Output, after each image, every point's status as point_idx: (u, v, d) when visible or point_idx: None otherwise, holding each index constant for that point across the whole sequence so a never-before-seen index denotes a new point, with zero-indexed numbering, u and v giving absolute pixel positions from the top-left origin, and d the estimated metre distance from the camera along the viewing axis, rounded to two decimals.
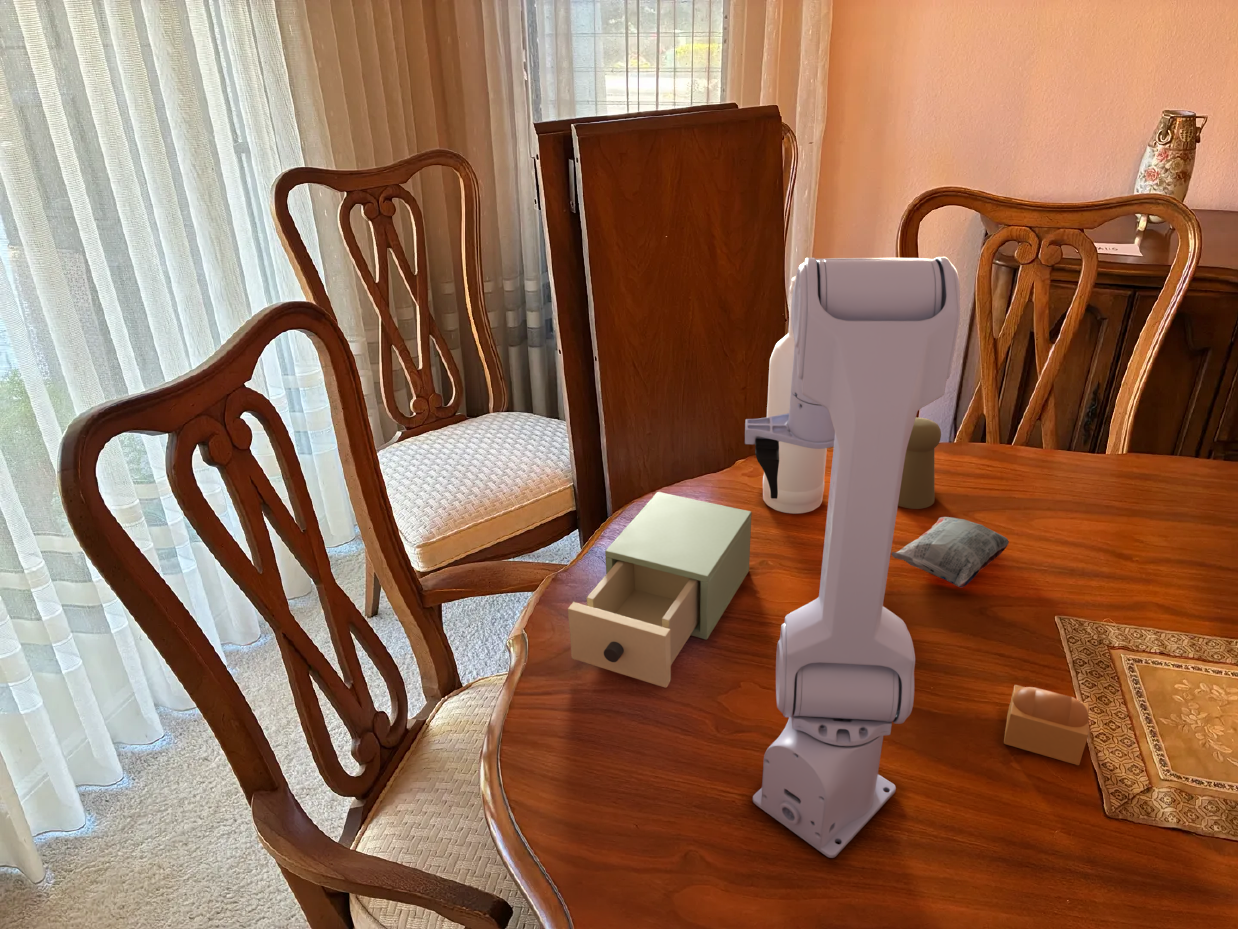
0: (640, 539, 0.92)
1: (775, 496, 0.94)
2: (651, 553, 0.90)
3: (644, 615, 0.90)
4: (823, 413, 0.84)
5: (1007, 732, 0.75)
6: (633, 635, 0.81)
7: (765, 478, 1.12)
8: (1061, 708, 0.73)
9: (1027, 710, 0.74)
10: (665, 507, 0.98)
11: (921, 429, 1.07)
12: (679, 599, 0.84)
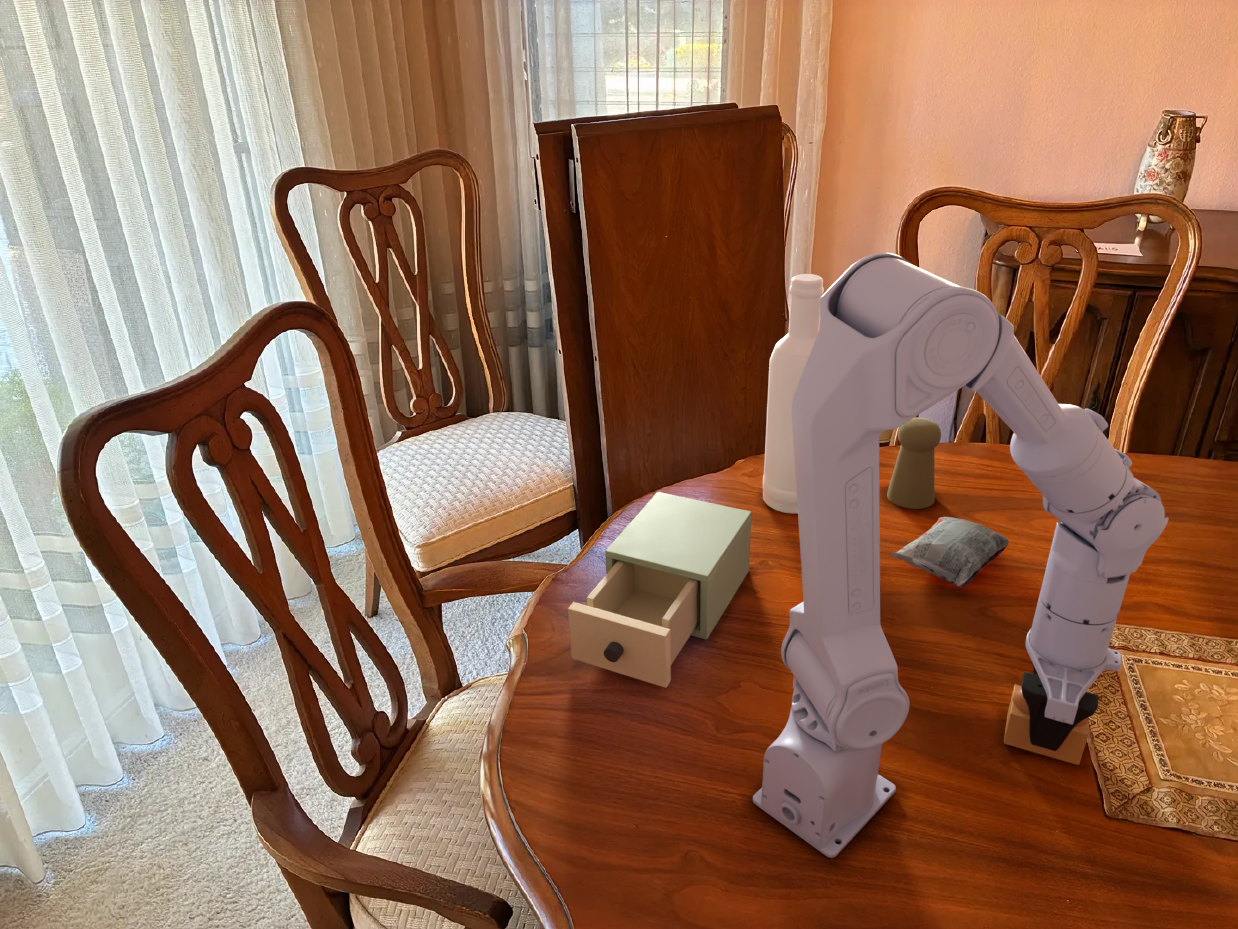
0: (640, 539, 0.92)
1: None
2: (651, 553, 0.90)
3: (644, 615, 0.90)
4: (1037, 605, 0.70)
5: (1007, 732, 0.75)
6: (633, 635, 0.81)
7: (765, 478, 1.12)
8: None
9: (1027, 710, 0.74)
10: (665, 507, 0.98)
11: (921, 429, 1.07)
12: (679, 599, 0.84)
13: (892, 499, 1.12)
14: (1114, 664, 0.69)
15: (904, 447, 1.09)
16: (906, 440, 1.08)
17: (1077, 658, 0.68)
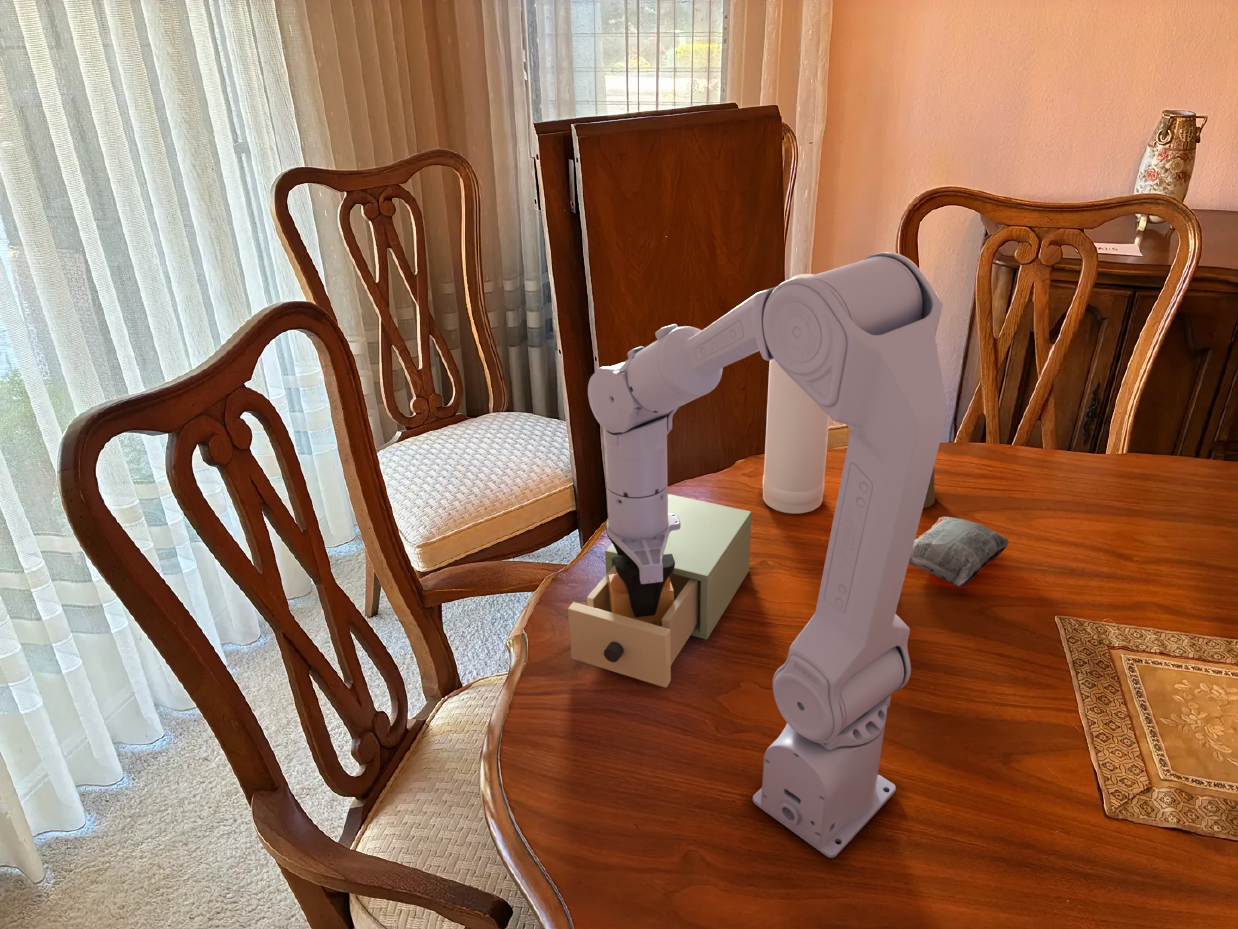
0: None
1: None
2: None
3: None
4: (607, 496, 0.80)
5: None
6: (633, 635, 0.81)
7: (765, 478, 1.12)
8: None
9: (624, 590, 0.84)
10: None
11: None
12: (679, 599, 0.84)
13: None
14: (675, 524, 0.81)
15: None
16: None
17: (649, 527, 0.79)
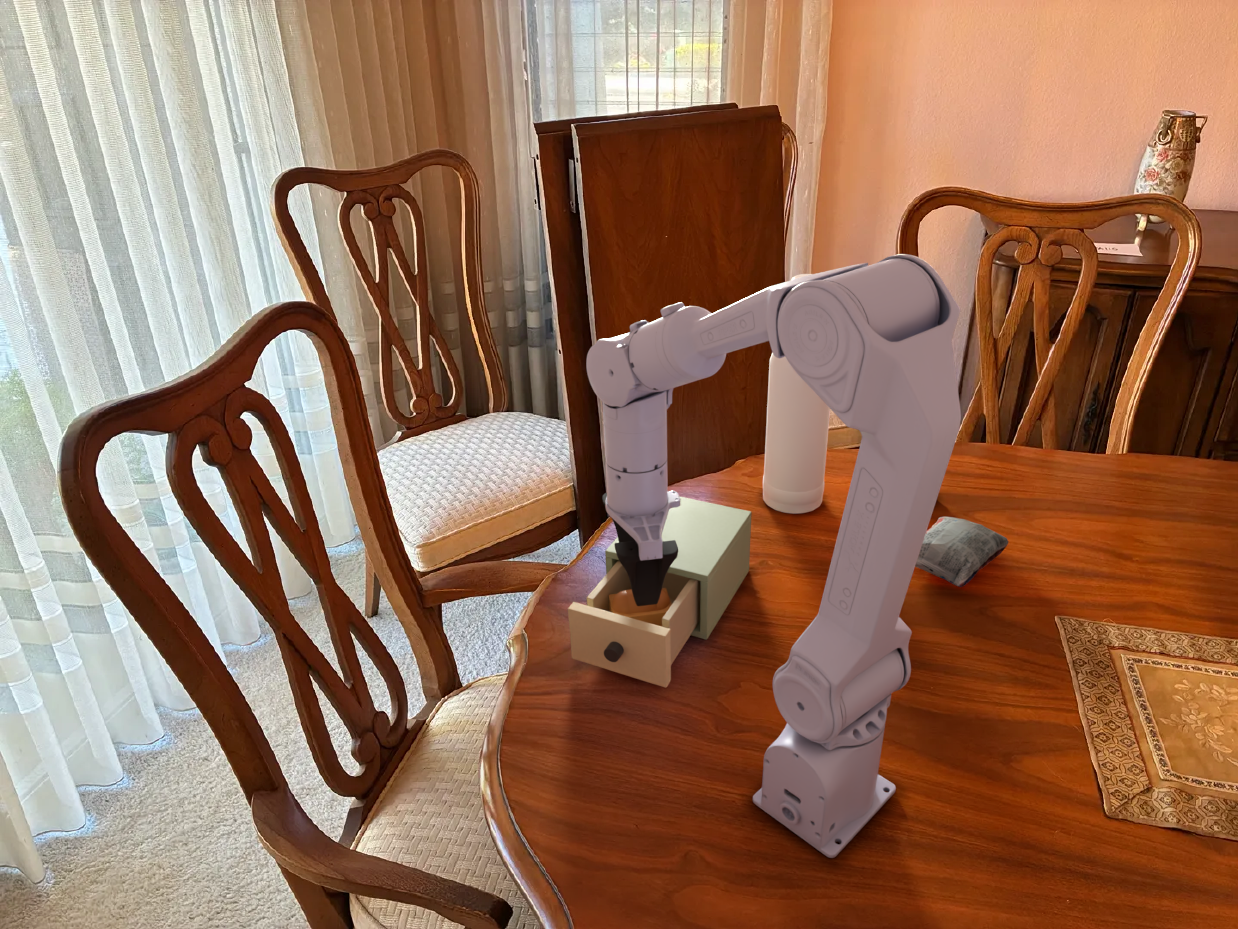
0: None
1: None
2: None
3: None
4: (606, 472, 0.79)
5: None
6: (633, 635, 0.81)
7: (765, 478, 1.12)
8: None
9: (625, 610, 0.85)
10: None
11: None
12: (679, 599, 0.84)
13: None
14: (675, 501, 0.80)
15: None
16: None
17: (649, 504, 0.78)
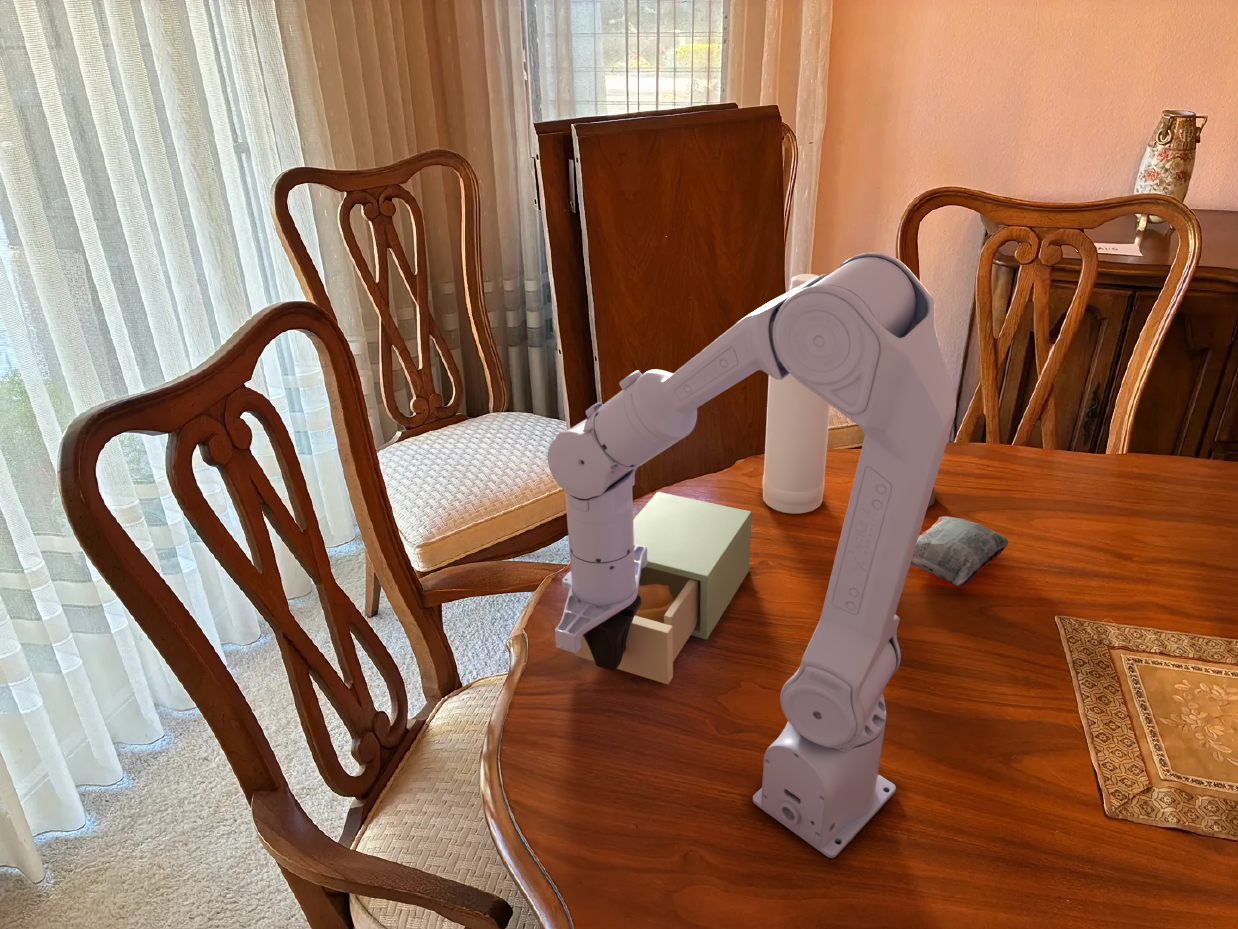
0: (640, 539, 0.92)
1: (617, 665, 0.81)
2: (651, 553, 0.90)
3: None
4: (632, 559, 0.75)
5: None
6: (635, 632, 0.81)
7: (765, 478, 1.12)
8: (651, 595, 0.85)
9: None
10: (665, 507, 0.98)
11: None
12: (681, 596, 0.85)
13: None
14: None
15: None
16: None
17: None
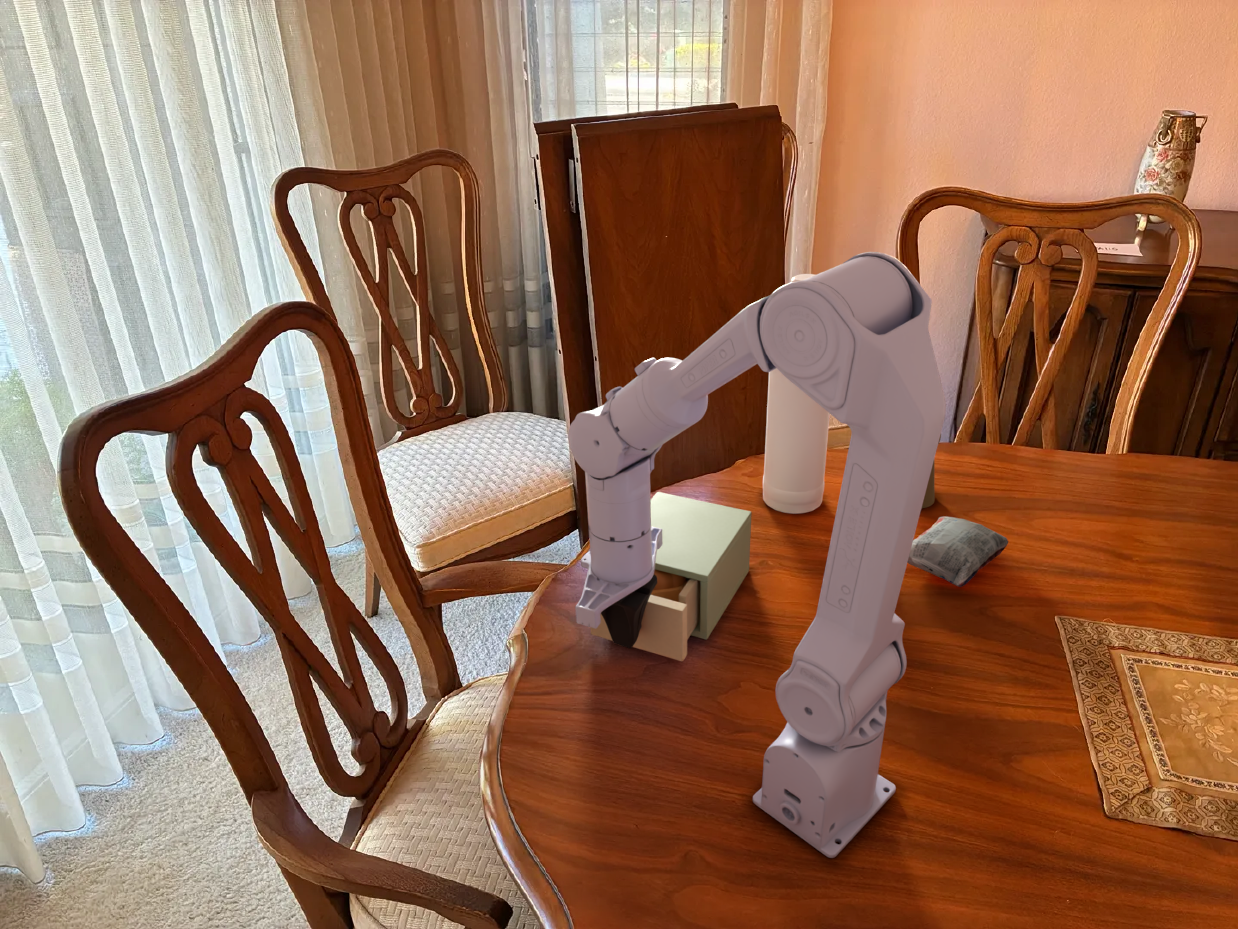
0: None
1: (634, 642, 0.84)
2: None
3: None
4: (649, 539, 0.78)
5: None
6: (651, 610, 0.84)
7: (765, 478, 1.12)
8: (665, 576, 0.88)
9: None
10: (665, 507, 0.98)
11: None
12: None
13: None
14: None
15: None
16: None
17: None
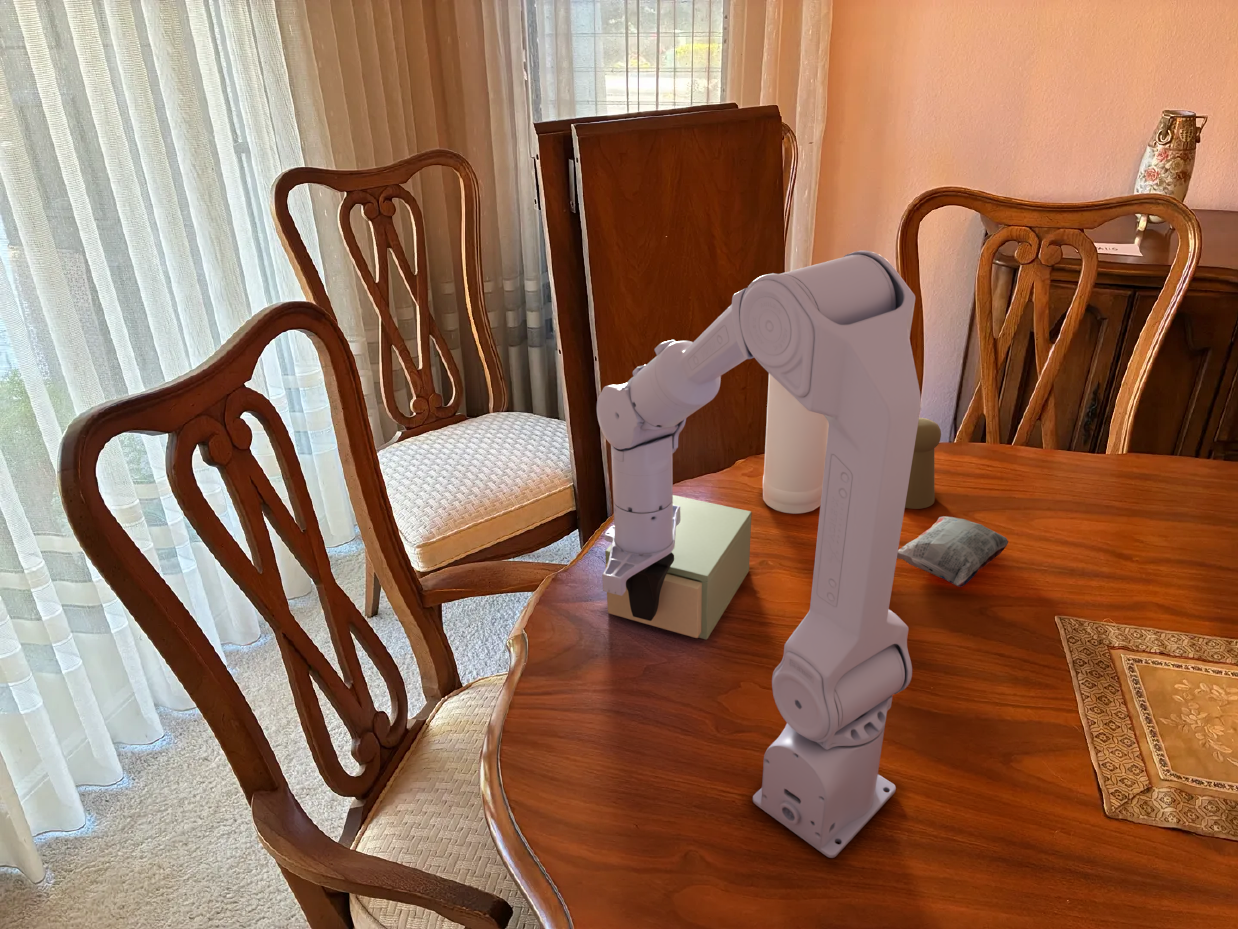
0: None
1: (655, 612, 0.88)
2: None
3: None
4: (671, 511, 0.82)
5: None
6: (667, 588, 0.87)
7: (765, 478, 1.12)
8: None
9: None
10: None
11: (921, 429, 1.07)
12: None
13: None
14: None
15: None
16: None
17: None
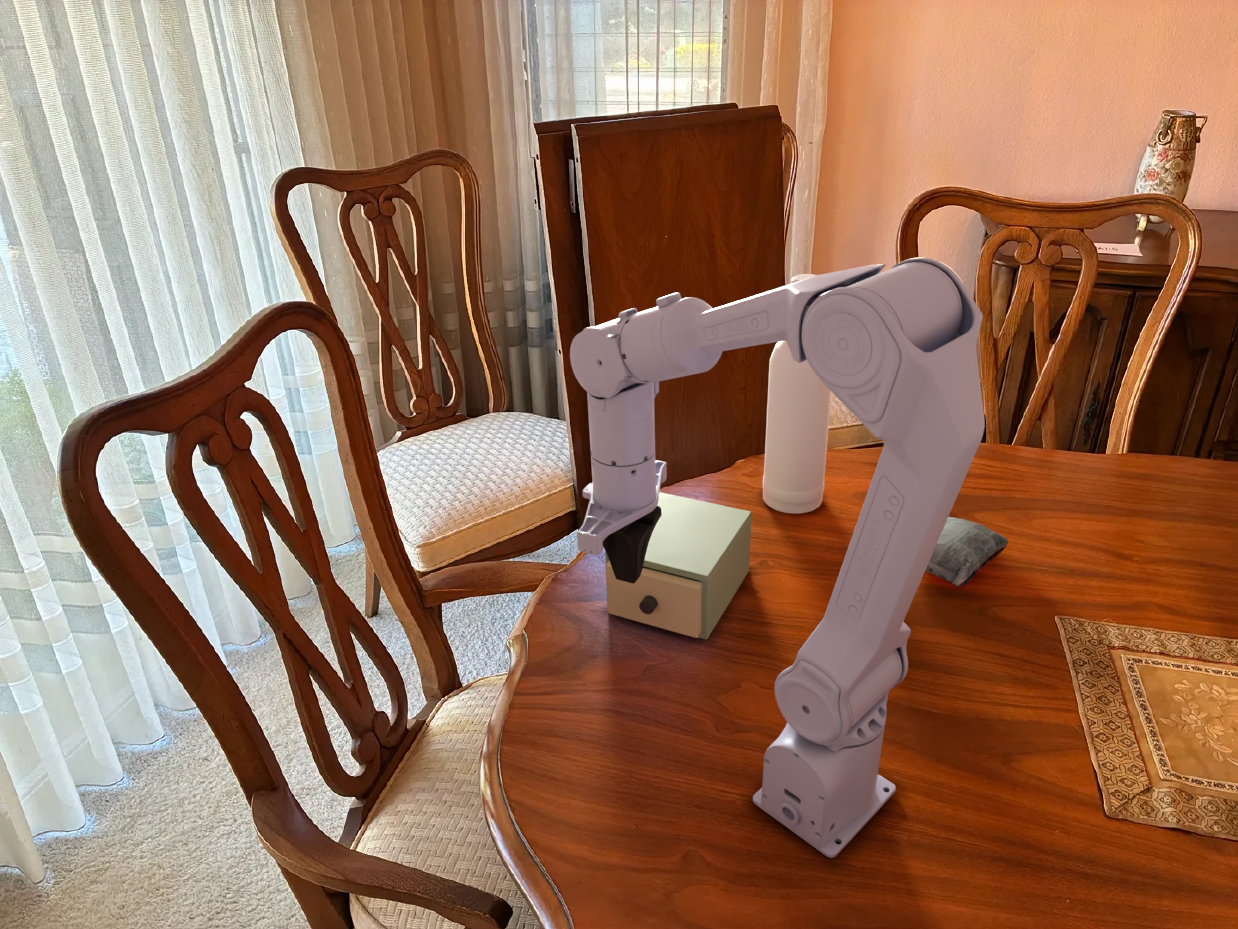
0: None
1: (637, 578, 0.81)
2: (651, 553, 0.90)
3: None
4: (653, 465, 0.75)
5: None
6: (667, 588, 0.87)
7: (765, 478, 1.12)
8: None
9: None
10: (665, 507, 0.98)
11: None
12: None
13: None
14: None
15: None
16: None
17: None
